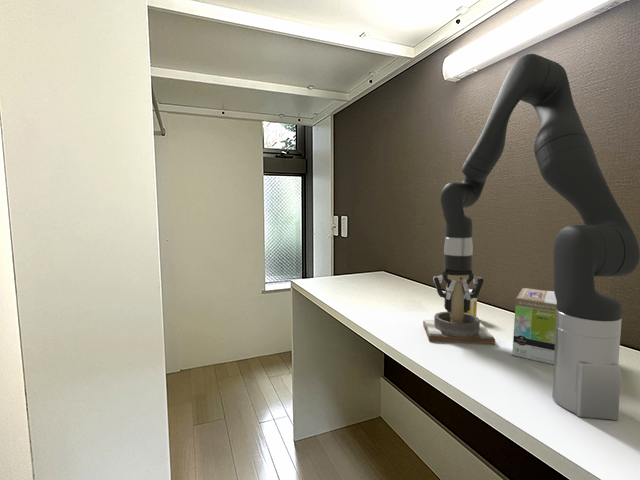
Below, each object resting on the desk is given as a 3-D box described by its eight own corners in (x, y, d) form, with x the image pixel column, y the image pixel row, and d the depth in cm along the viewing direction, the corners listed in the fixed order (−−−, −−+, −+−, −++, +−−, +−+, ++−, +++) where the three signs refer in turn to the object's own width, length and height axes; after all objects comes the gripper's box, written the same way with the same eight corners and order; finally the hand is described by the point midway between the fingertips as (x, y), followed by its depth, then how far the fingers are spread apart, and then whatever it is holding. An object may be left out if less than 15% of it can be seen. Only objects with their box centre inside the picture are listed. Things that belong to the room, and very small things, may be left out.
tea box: (561, 367, 77) (564, 304, 76) (511, 356, 83) (513, 297, 82) (562, 345, 89) (565, 291, 88) (519, 337, 95) (521, 286, 94)
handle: (471, 327, 96) (472, 275, 94) (449, 327, 96) (450, 275, 94) (463, 321, 100) (464, 272, 99) (442, 322, 100) (443, 272, 99)
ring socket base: (494, 344, 90) (495, 326, 90) (429, 341, 93) (429, 323, 93) (480, 328, 103) (481, 312, 103) (423, 325, 106) (423, 310, 106)
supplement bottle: (464, 321, 110) (464, 292, 109) (455, 316, 115) (456, 288, 114) (479, 320, 110) (480, 291, 110) (470, 315, 116) (471, 288, 115)
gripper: (434, 254, 94) (433, 314, 95) (488, 254, 91) (487, 316, 93) (430, 251, 101) (429, 307, 103) (480, 251, 99) (479, 309, 100)
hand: (457, 311), depth 98 cm, fingers closed on handle, 4 cm apart
